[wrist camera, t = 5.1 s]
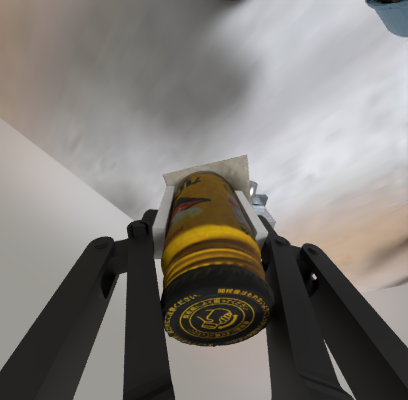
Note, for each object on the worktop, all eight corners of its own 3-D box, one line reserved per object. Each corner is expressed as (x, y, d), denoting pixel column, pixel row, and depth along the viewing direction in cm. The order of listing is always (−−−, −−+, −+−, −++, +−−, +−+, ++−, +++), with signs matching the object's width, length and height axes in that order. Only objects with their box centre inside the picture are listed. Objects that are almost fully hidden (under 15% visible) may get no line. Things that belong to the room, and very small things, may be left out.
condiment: (162, 174, 16) (103, 292, 5) (246, 154, 15) (360, 240, 5) (183, 229, 19) (172, 367, 9) (252, 214, 19) (326, 341, 8)
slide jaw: (219, 177, 32) (224, 190, 27) (271, 180, 33) (286, 193, 28) (214, 211, 36) (218, 228, 30) (261, 213, 37) (272, 229, 31)
